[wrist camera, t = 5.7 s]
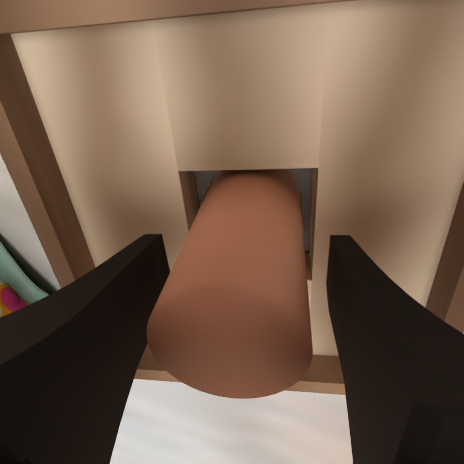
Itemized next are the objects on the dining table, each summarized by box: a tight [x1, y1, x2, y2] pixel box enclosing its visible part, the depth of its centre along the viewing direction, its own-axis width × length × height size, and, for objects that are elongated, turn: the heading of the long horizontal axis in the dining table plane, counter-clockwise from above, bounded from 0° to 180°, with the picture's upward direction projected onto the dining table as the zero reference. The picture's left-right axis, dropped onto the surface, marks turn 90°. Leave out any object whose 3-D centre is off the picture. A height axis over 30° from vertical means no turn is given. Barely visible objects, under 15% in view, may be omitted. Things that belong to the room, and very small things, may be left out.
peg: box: [146, 169, 313, 398], centre depth 11 cm, size 4×4×8 cm
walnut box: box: [0, 0, 464, 395], centre depth 13 cm, size 16×16×4 cm
